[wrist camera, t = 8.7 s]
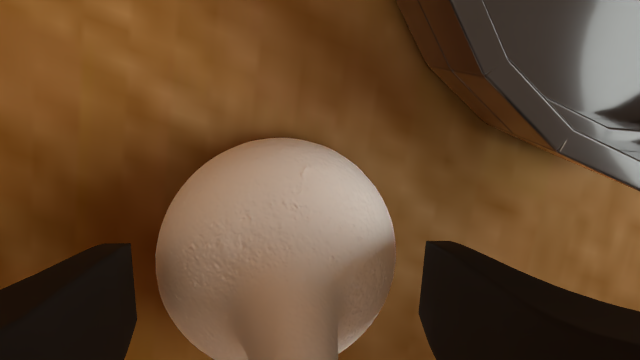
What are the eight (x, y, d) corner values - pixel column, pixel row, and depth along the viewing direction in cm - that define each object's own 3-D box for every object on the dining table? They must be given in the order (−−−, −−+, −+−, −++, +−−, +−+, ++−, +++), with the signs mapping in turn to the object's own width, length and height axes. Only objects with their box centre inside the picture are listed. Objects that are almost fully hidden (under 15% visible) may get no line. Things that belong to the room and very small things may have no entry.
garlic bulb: (223, 90, 13) (151, 168, 5) (418, 181, 14) (584, 349, 7) (140, 280, 14) (-10, 557, 7) (325, 347, 16) (374, 643, 8)
